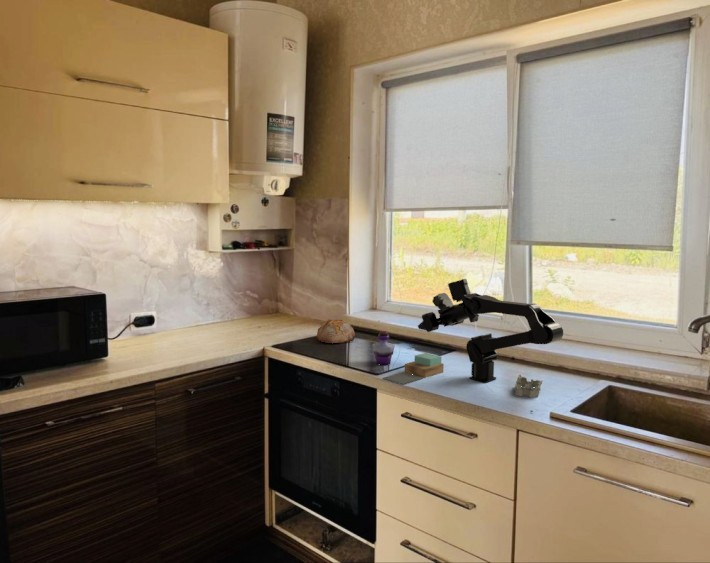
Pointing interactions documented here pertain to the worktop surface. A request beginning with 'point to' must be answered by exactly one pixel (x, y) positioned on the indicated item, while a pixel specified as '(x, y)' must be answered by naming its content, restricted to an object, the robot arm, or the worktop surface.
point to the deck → (423, 369)
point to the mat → (402, 378)
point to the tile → (427, 359)
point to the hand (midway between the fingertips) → (426, 325)
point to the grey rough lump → (527, 387)
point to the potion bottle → (383, 349)
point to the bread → (335, 332)
